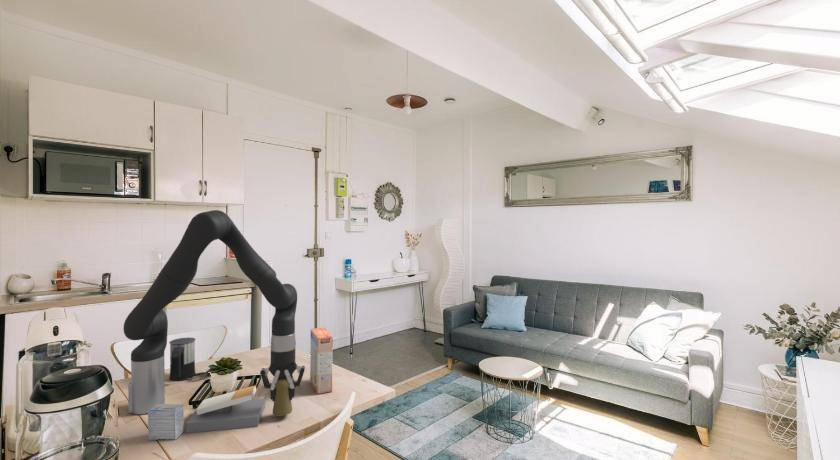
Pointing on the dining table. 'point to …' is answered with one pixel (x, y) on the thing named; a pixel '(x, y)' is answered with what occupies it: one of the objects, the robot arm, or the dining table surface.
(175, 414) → the medicine box
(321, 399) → the dining table surface
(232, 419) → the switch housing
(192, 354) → the milk frother
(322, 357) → the cracker box
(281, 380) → the olive green pawn
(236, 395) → the rocker switch
